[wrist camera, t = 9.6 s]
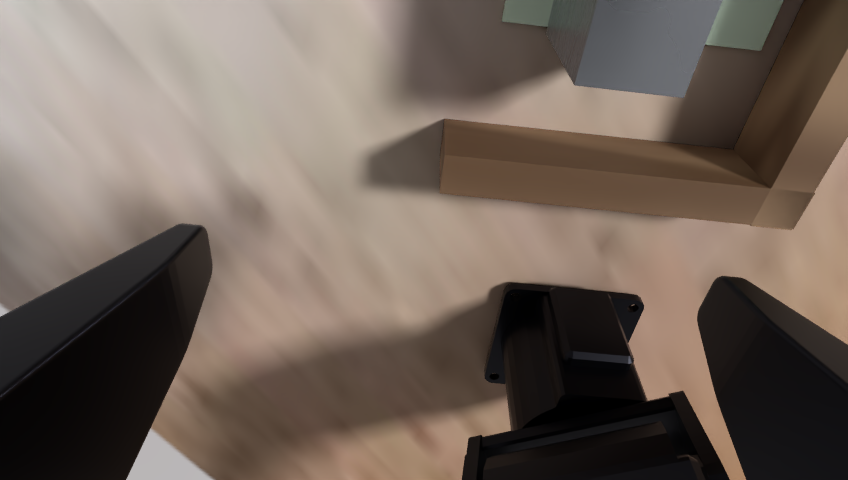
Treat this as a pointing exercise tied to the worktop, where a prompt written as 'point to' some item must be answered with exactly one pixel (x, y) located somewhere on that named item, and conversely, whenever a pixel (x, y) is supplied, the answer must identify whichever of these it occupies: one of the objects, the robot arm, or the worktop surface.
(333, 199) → the worktop surface
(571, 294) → the robot arm
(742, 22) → the pad
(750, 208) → the wooden corner frame
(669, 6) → the bracket
